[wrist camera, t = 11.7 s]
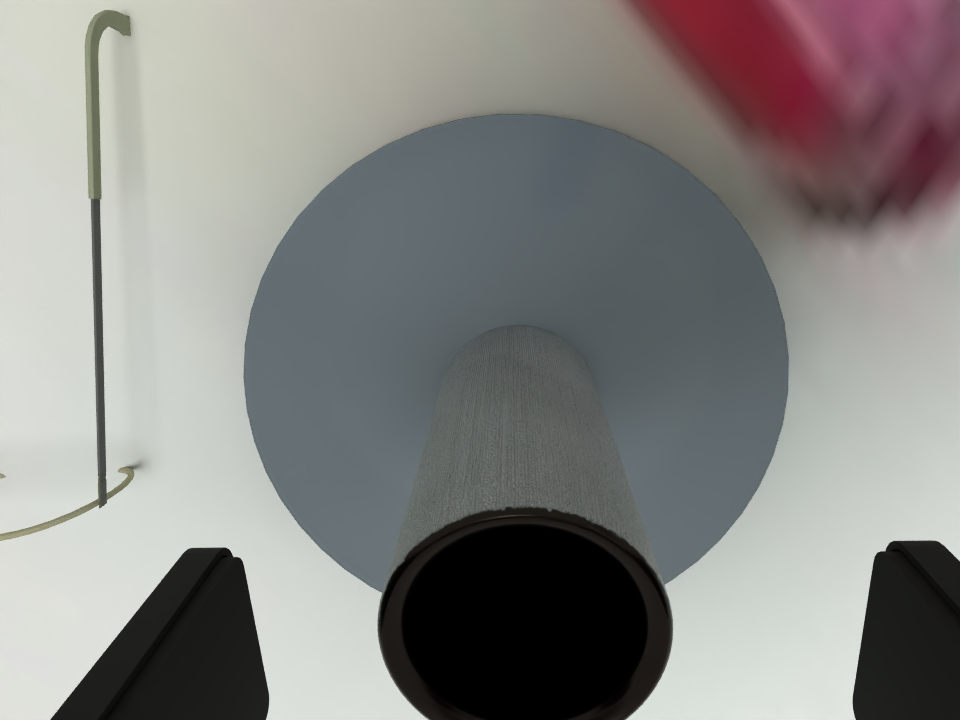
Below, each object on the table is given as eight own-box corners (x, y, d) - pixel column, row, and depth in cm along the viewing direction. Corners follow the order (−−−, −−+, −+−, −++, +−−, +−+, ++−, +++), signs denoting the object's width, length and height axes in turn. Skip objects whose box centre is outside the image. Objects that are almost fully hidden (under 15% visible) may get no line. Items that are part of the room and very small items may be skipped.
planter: (491, 491, 21) (475, 794, 11) (411, 372, 20) (316, 594, 10) (622, 422, 20) (727, 687, 10) (545, 294, 19) (582, 454, 9)
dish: (795, 98, 18) (814, 95, 17) (754, 598, 23) (767, 621, 22) (217, 132, 19) (200, 131, 18) (294, 607, 24) (284, 629, 23)
